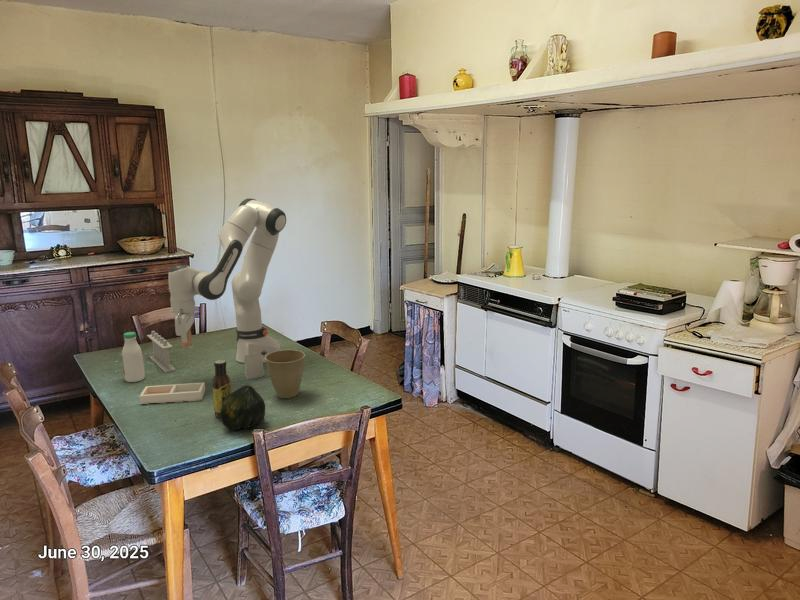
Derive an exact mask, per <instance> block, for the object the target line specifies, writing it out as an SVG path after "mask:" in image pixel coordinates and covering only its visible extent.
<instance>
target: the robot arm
mask: <svg viewBox="0 0 800 600" xmlns="http://www.w3.org/2000/svg"><path fill="white" fill-rule="evenodd" d="M286 224H287V215H286V212H284V211H283V210H282V209H280V208H279V207H276V206H274V205H272V204H270V203H268V202H264V201H260V200H256V199H255V198H250V197H249V198H246V199H243V200H242V201H241V202H240V204H239V205H238V207H237V208H236V209H235V210H234V211H233V212H232V214H231V215H230V216H229V217H228V218H227V220H226V221H225V223H224V224H223V226H222V228H221V229H220V231H219V234H218V238H219V243H220V244H221V246H222V248H223V249H222V251H223V252H222V254H221V256H220V258H219V260H218V261H217V264H216V266H215V267H214V269H213V270H212V271H211V272H209V271H206V270H200V269H197V268H193V267H192V266H190V265H187V264H179V265H175V266H173V267H171V268H170V269H169V271H168V290H169V294H170V298H169V303H170V309H171V313H173V314H175V316H174V329H175V335H176V336H178V337H181V336H182V340H183V343H187V342H188V337H187V332H188V330H191V327H192V326H193V324H194V323H195V311H196V301H195V296H197V295H198V296H201V297H203V298H205V299H207V300H210V301H215V300H218V299H220V298H221V297H222V296H223V295H224V293H225V291H226V289H227V285H228V280H229V278H230V276H231V275H232V273H233V270H234V269H235V266H237V265H236V264H237V263H238V262H239V259H240V257H241V255H242V254H243V253H242V252H243V249H244V247H245V245H246V243H247V241H248V240H249V239H250V236H251V235H252V234H253V235H252V236H251V239H250V240H249V244H248V246H247V249H246V251H245V254H244V256H243V260H242V261H243V262H242V265H241V268H240V271H239V272H237V273H236V274H235V275H234V276H233V277H232V280H231V291H232V296H233V297H232V298H233V305H234V310H235V311H234V312H235V322H236V328H235V337H236V338H235V339H236V344H237V346H236V347H237V348H236V356H235V361H236V362H239V363H243V364H244V360H245V355H250V354H255V353H261V357H262V362H263V364H266V361H265V356H266V355H267V354H269V353H272V352H275V351H279V350H282V349H281V345H280V343H279V341H278V340H277V339H275V338H274V337H271V336H270V335H268V329H267V327H266V326H265V327H264V326H263V324H262V323H263V322H262V311H261V310H262V309H261V306H260V300H259V299H260V297H261V295H262V292H263V291H262V289H263V287H264V283H265V280H266V276H267V272H268V267H269V264H270V262H271V259H272V257H273V254H274V253H275V250H276V247H277V244H278V240H279V236H280V233H281V232H282V231H283V229H284V228H285V227H286ZM254 230H255V231H254ZM253 232H254V233H253Z"/></svg>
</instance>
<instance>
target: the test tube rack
mask: <svg viewBox="0 0 800 600" xmlns="http://www.w3.org/2000/svg"><path fill="white" fill-rule="evenodd" d="M146 337H148V338H149V339H150V340H151V342H152V343H151V344H152V351H153V355H150V356H148V358H149V357H150V358H151V359H152V360H153V361H154V362H155V363H156V364H157V365H156V364H155V363H154V362H153V361H152V360H151V359H150V358H149V359H150V360H151V361H152V362H153V363H154V364H155V365H156V366H158V367H159V368H160V369H161V370H162V371H163V372H164V373H169V372H175V371H176V368H175V367H174V366H173V365H172V364H171V363H170V352H169V349H171V348H173V347H174V346H173V345H172V344H171V343H170V342H168V339H165V338H164V337H162V336H161V334H160V335H159V333H157V332H156V331H155V330H151V334H146Z"/></svg>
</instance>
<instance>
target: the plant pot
mask: <svg viewBox="0 0 800 600" xmlns="http://www.w3.org/2000/svg"><path fill="white" fill-rule="evenodd" d="M305 358H306V353H304V352H303V351H301V350H297V349H281V350H279V351H275V352H272V353H269V354H267V355H266V356H265V361H266V363H265V364H266V369H267V372H268V375H269V378H270V382H271V384H272V386H273V388H274V391H275V393H276V395H277V397H278V398H280V399H283V398H288V399H291V398H290V397H293V398H294V396H295V397H296V395H297V396H298V395H299V394H298V393H299V391H300V387H301V383H302V378H303V373H304V369H305V360H306V359H305Z"/></svg>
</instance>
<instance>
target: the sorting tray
mask: <svg viewBox="0 0 800 600" xmlns="http://www.w3.org/2000/svg"><path fill="white" fill-rule="evenodd" d="M205 394H206V383H205V381H203V382H190V383H189V382H188V383H176V384H174V383H173V384H162V385H147V386H144V388H143V390H142V391H141V393H140V395H139V396H138V397H139V404H147V405H149V404H148V403H161V404H167V403H166V402H175V403H184V402H183V401H188V402H200V401H201V400H202V401H203V398H204V396H205Z"/></svg>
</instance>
